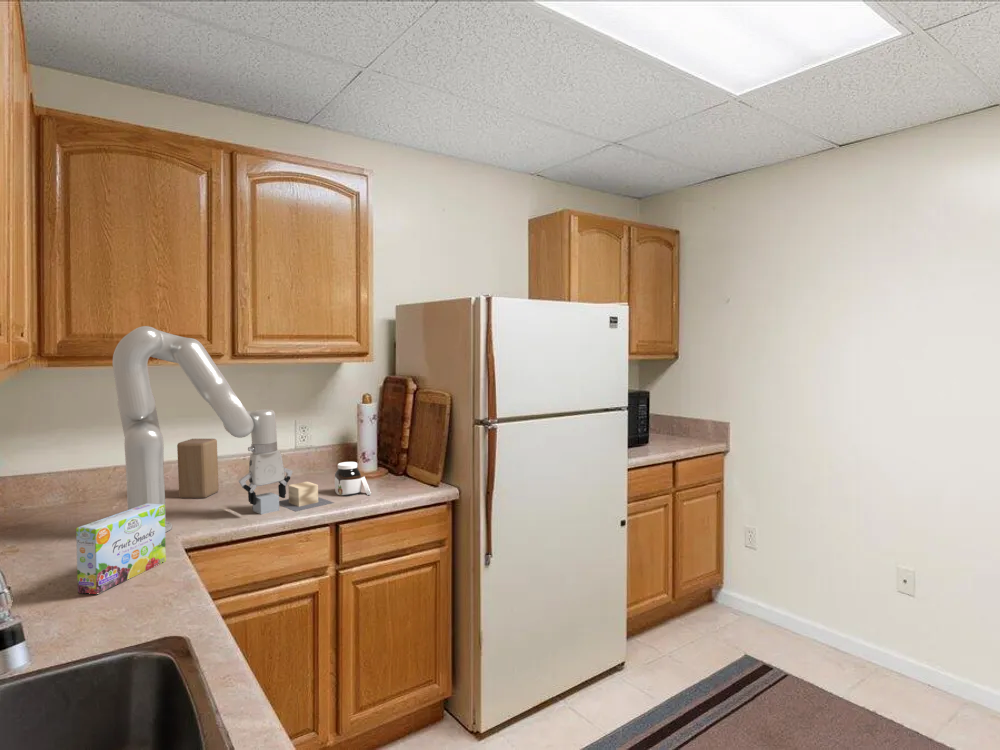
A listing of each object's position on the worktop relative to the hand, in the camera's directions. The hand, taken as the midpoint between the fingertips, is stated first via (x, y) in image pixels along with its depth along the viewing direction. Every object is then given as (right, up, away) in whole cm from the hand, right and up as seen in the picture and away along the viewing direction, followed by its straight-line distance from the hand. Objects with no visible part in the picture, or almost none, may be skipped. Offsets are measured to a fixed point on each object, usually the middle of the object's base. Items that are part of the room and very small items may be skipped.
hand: (267, 500), depth 195 cm
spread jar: (+23, -3, +22) cm, 32 cm away
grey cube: (0, -4, 0) cm, 4 cm away
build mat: (+9, -4, +9) cm, 13 cm away
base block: (+9, -3, +9) cm, 13 cm away
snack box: (-14, -8, -51) cm, 54 cm away
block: (-34, -3, +24) cm, 42 cm away
